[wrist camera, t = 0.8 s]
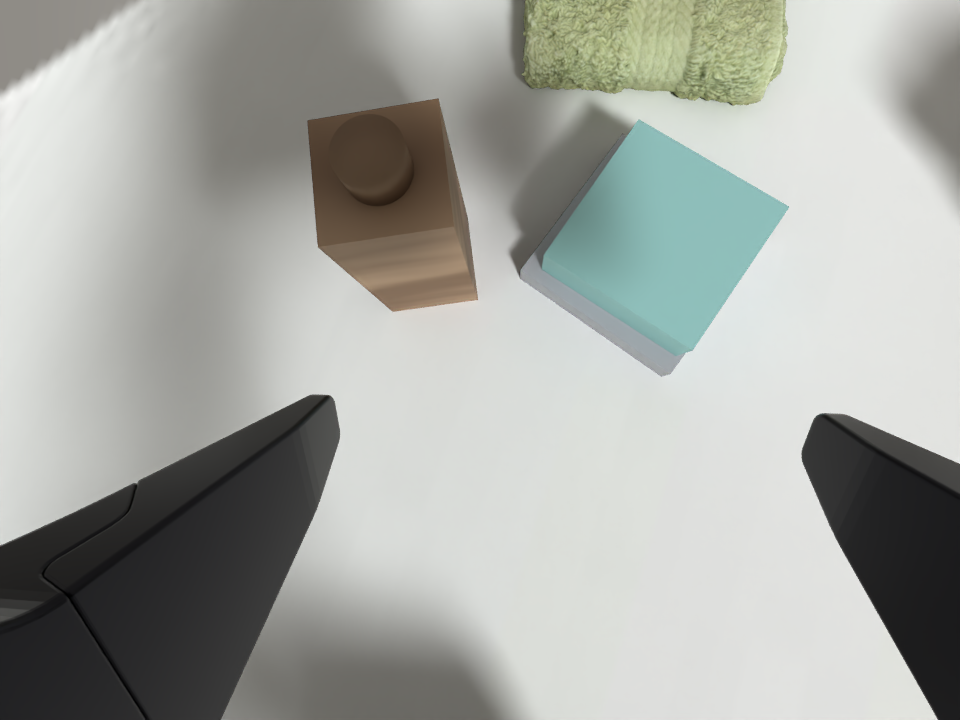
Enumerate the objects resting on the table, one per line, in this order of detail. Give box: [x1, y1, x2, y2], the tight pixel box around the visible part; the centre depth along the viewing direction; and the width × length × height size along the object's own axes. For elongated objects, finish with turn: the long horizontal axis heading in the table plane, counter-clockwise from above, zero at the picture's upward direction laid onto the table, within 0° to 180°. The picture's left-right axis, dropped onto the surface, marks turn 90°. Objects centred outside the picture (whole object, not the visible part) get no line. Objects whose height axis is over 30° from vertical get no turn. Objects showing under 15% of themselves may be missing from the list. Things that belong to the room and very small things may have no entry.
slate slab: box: [520, 134, 685, 376], centre depth 22 cm, size 8×8×2 cm
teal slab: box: [542, 120, 789, 356], centre depth 20 cm, size 7×7×2 cm
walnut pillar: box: [308, 99, 478, 312], centre depth 18 cm, size 4×4×10 cm
